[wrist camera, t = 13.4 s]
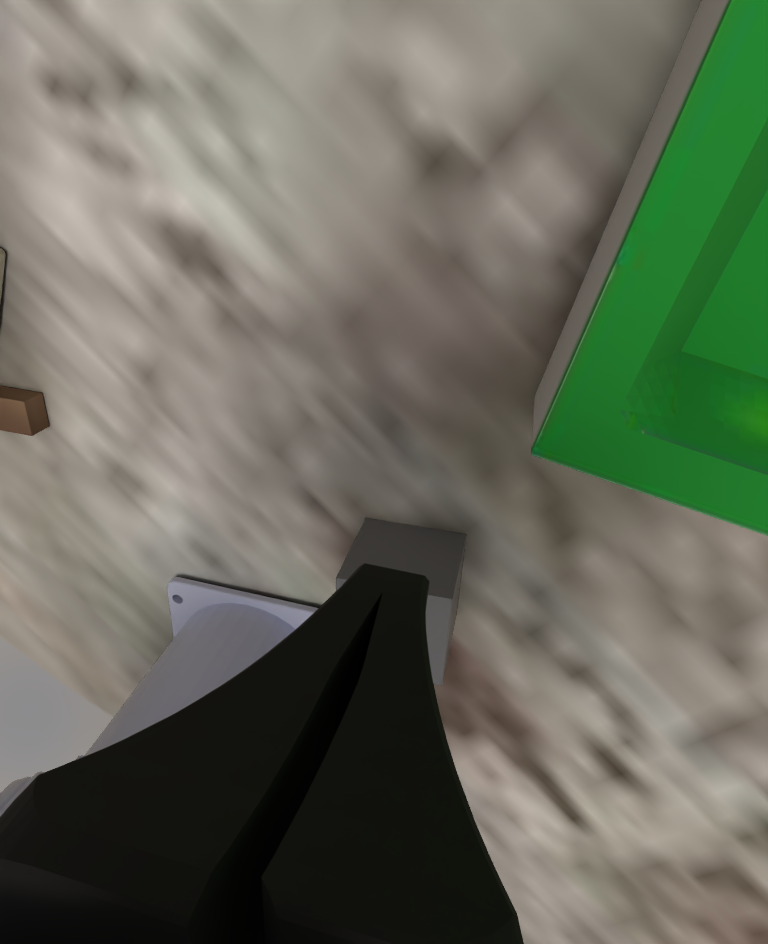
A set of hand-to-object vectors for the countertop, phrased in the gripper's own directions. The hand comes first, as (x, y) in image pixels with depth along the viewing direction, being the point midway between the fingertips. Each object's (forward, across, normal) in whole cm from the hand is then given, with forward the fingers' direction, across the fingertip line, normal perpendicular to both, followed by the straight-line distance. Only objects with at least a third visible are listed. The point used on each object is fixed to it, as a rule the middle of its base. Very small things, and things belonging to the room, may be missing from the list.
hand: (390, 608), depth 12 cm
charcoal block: (+10, +1, +7) cm, 13 cm away
